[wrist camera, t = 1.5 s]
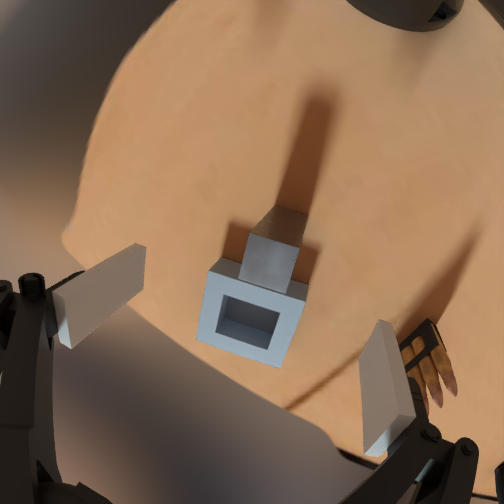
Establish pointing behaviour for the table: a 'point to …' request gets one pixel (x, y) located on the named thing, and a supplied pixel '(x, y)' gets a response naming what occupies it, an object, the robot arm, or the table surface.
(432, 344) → the ammunition clip
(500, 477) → the portable speaker
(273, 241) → the steel pin
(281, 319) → the slot block
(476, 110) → the table surface
